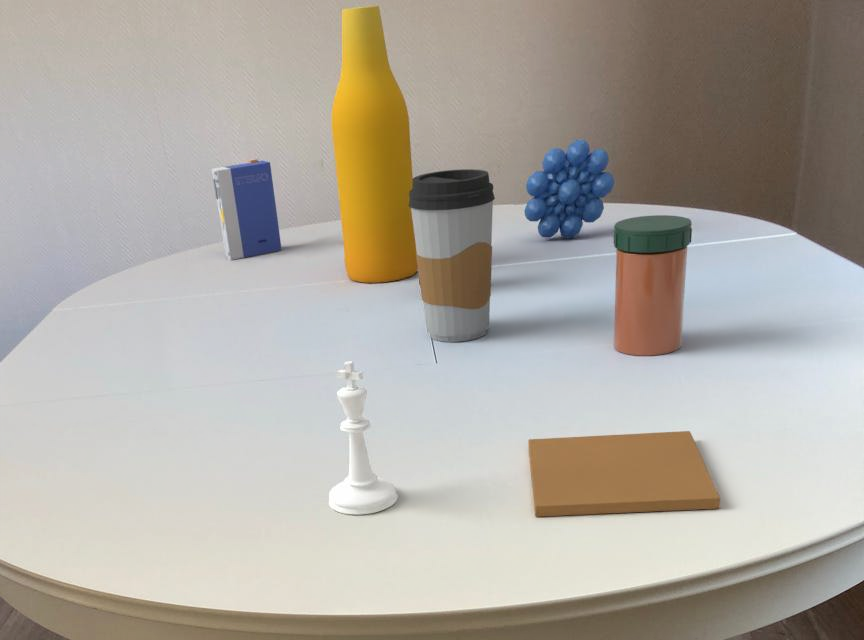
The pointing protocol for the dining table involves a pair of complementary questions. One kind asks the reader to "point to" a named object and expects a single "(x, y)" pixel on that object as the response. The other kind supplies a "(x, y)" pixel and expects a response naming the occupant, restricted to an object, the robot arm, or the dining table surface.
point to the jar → (649, 301)
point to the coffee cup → (454, 251)
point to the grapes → (568, 189)
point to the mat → (619, 474)
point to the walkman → (247, 209)
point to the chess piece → (358, 456)
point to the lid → (652, 233)
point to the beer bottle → (372, 155)
